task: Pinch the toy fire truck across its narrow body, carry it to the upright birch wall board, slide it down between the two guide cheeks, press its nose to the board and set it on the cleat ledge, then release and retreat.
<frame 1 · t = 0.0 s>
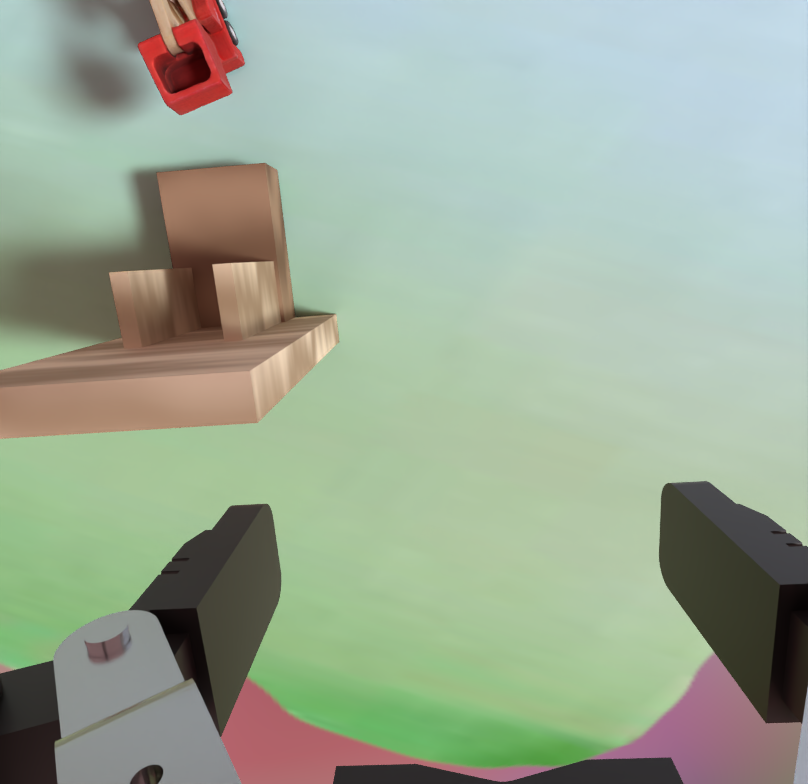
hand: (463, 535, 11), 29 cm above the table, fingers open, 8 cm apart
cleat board: (249, 334, 40), on the table
toy fire truck: (207, 28, 36), on the table
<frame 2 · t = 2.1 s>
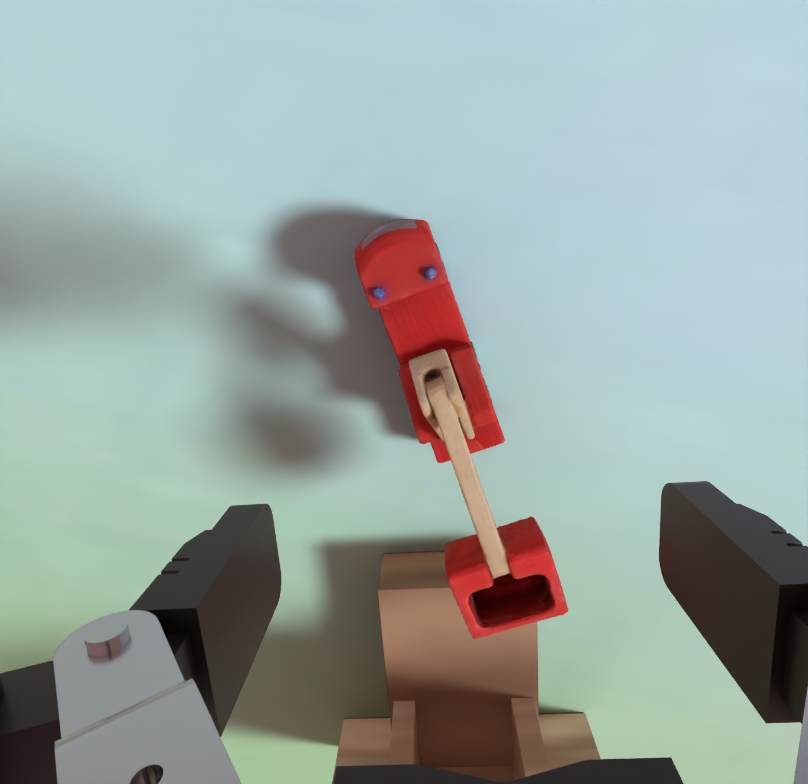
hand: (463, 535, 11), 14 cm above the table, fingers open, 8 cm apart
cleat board: (463, 731, 30), on the table
toy fire truck: (443, 372, 25), on the table
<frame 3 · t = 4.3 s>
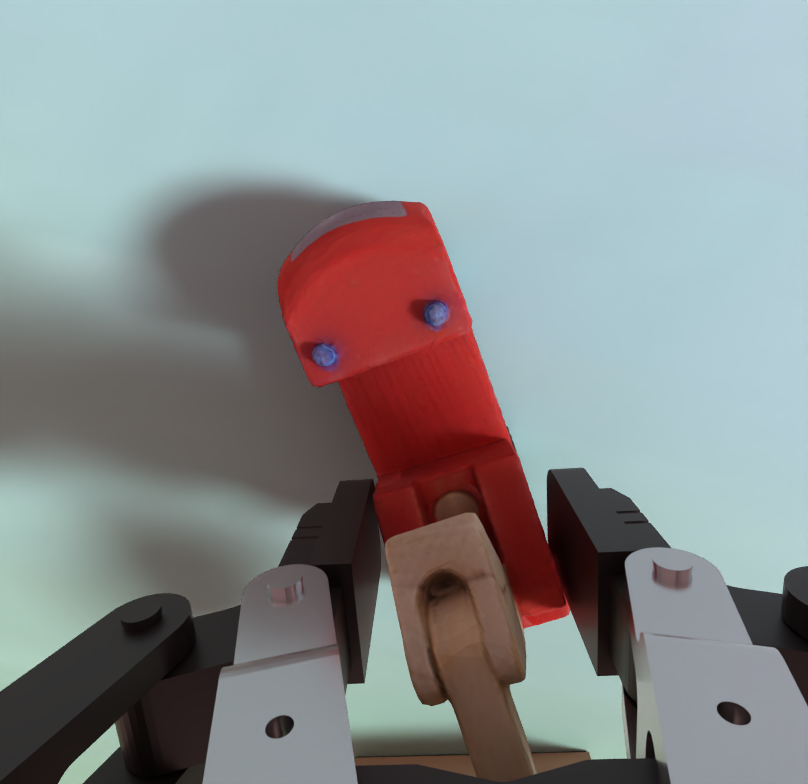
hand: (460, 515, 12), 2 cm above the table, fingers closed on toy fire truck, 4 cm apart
toy fire truck: (455, 471, 15), on the table, touching gripper
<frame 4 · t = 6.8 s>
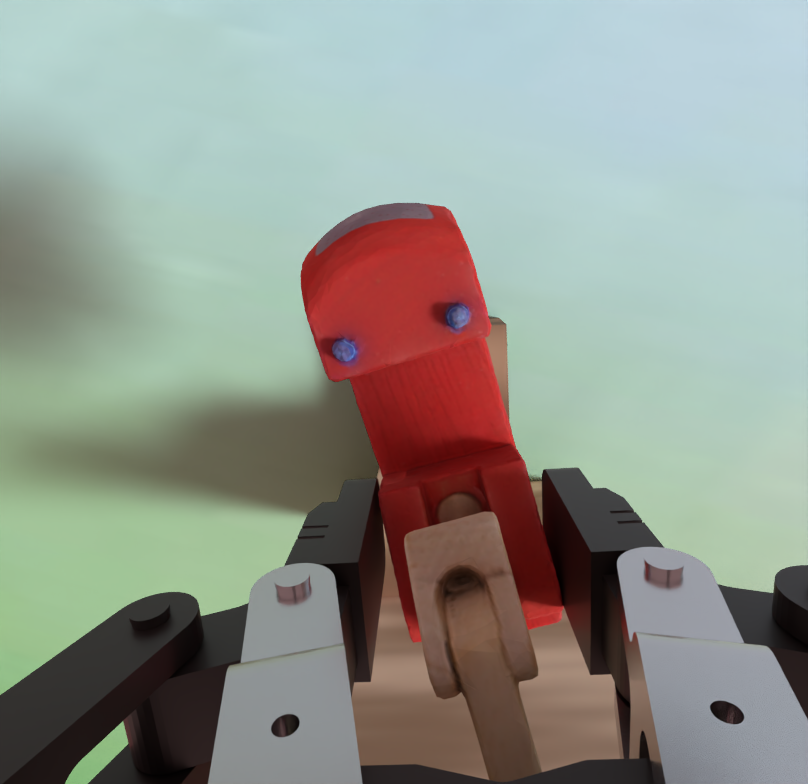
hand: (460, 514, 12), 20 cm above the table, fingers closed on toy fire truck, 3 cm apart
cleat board: (447, 501, 34), on the table
toy fire truck: (454, 474, 15), point 17 cm above the table, touching gripper
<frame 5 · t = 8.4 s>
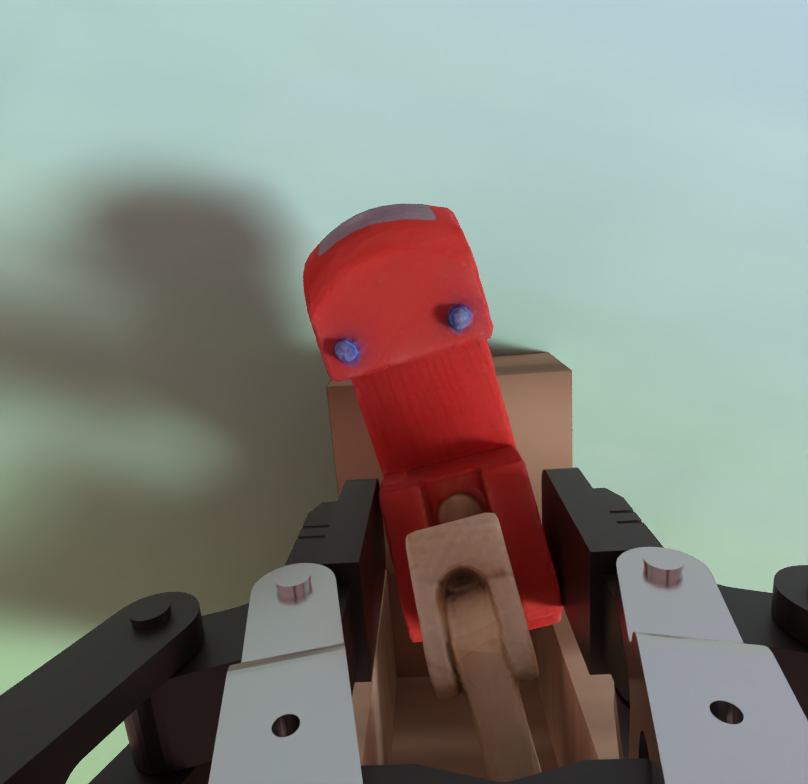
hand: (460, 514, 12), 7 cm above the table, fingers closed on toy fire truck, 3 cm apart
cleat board: (460, 639, 21), on the table
toy fire truck: (454, 475, 15), point 5 cm above the table, touching gripper
when the fingers open (6 cm above the table, at t = 9.6 s): toy fire truck stays where it is, resting on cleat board.
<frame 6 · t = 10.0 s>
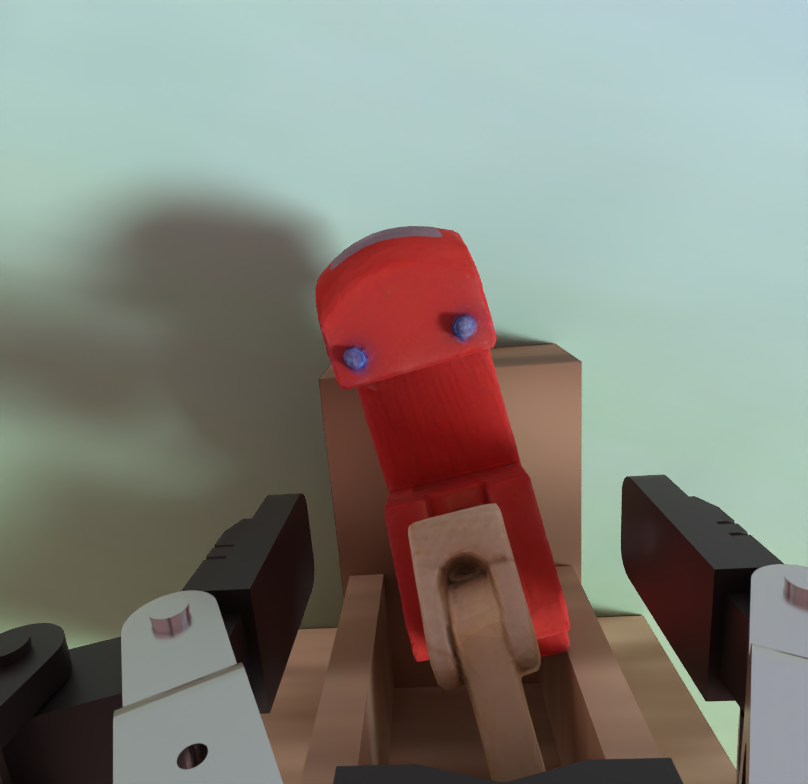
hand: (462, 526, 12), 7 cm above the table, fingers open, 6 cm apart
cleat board: (461, 646, 20), on the table
toy fire truck: (461, 500, 15), point 4 cm above the table, touching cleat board
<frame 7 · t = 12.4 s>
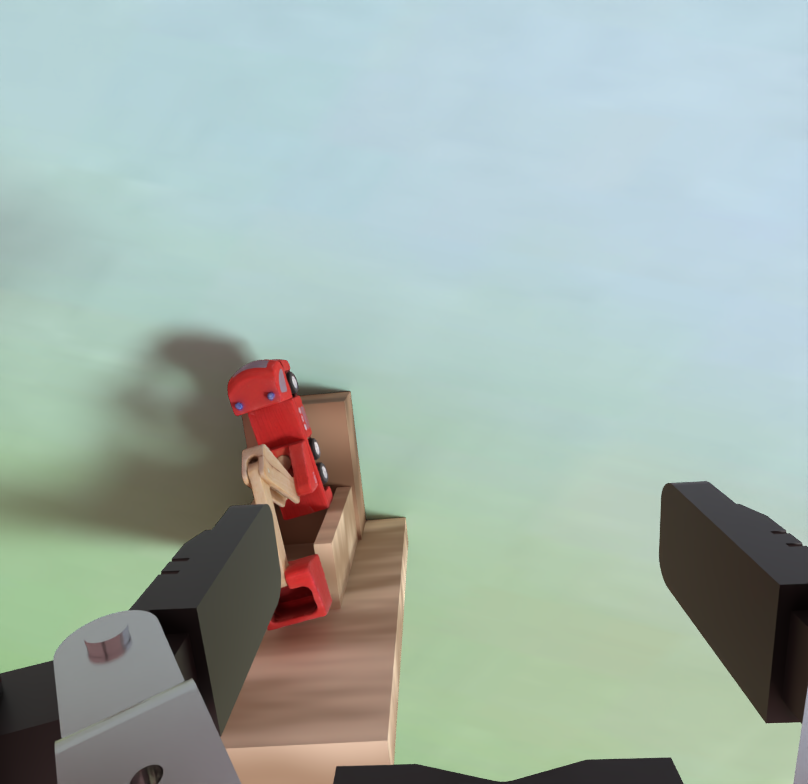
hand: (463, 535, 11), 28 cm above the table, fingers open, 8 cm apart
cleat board: (322, 535, 42), on the table
toy fire truck: (298, 457, 37), point 4 cm above the table, touching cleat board
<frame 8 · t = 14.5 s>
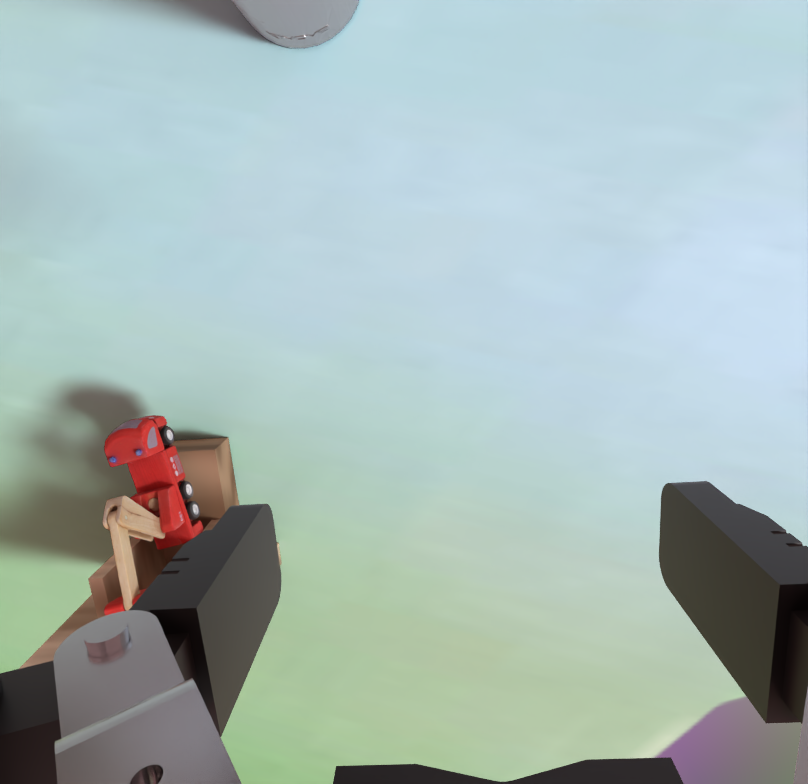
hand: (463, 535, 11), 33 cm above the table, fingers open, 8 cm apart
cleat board: (208, 556, 49), on the table
toy fire truck: (176, 495, 44), point 4 cm above the table, touching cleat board
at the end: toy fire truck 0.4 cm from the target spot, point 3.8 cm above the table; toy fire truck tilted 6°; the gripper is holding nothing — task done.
